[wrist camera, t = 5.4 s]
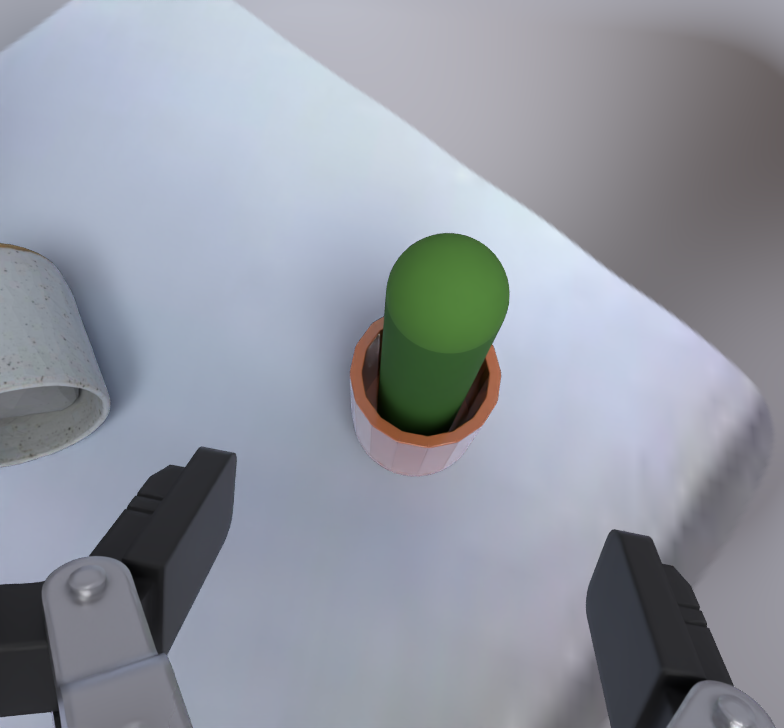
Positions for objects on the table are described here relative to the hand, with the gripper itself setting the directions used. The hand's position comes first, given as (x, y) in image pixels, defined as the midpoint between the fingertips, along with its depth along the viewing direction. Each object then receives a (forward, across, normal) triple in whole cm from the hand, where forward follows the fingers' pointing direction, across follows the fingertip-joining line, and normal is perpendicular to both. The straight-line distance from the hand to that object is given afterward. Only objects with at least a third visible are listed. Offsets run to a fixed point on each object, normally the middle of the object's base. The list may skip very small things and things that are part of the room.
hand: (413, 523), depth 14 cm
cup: (+18, 0, +7) cm, 19 cm away
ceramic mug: (+16, +20, +10) cm, 27 cm away
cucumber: (+18, 0, +7) cm, 19 cm away
